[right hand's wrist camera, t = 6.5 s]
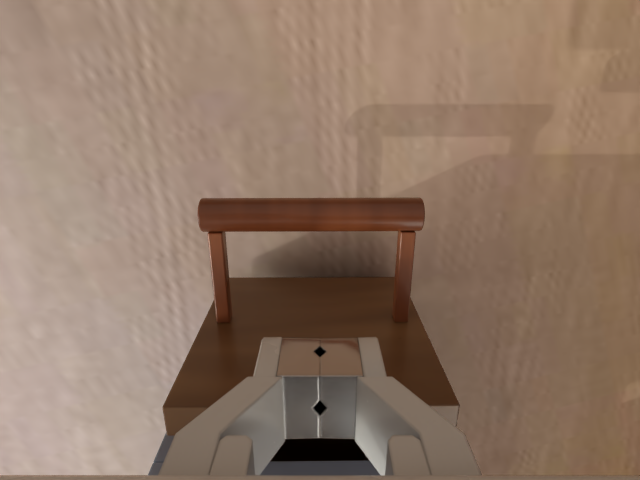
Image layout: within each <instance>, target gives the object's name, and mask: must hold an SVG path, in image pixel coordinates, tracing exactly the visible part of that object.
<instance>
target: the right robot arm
mask: <svg viewBox="0 0 640 480" xmlns="http://www.w3.org/2000/svg"><path fill="white" fill-rule="evenodd" d="M306 438H333V439H355V442H356V443H357V444H358V446H359V447H360V448H361V450H362V451H363V452H364V454H365V455H366V456H367V458H368V459H369V460H370V462H371V463H372V464H373V466H374V467H375V468H376V470H377V471H378V473H379V474H380V475H260V474H261V473H262V471H263V470H264V469H265V467H266V466H267V465H268V463H269V462H270V461H271V459H272V458H273V457H274V455H275V454H276V453H277V451H278V450H279V449H280V447H281V446H282V445H283V443H284V442H285V439H306ZM0 480H640V475H482V474H481V472H480V469H479V467H478V464H477V462H476V460H475V457H474V455H473V453H472V450H471V448H470V445H469V443H468V441H467V438H466V436H465V434H464V433H463V432H461V431H460V430H459V429H458V428H456V427H455V426H454V425H453V424H451V423H450V422H449V421H448V420H446V419H445V418H444V417H443V416H441V415H440V414H439V413H438V412H436V411H435V410H434V409H432V408H431V407H430V406H429V405H427V404H426V403H425V402H424V401H422V400H421V399H420V398H419V397H417V396H416V395H415V394H414V393H412V392H411V391H410V390H409V389H407V388H406V387H405V386H404V385H402V384H401V383H400V382H399V381H397V380H396V379H395V378H393V377H387V375H386V371H385V367H384V363H383V358H382V354H381V350H380V346H379V342H378V338H377V337H358V338H301V337H283V338H282V337H264V338H263V339H262V341H261V345H260V350H259V354H258V358H257V362H256V367H255V371H254V375H253V377H247V378H245V379H244V380H243V381H241V382H240V383H239V384H238V385H236V386H235V387H234V388H233V389H231V390H230V391H229V392H228V393H226V394H225V395H224V396H223V397H221V398H220V399H219V400H217V401H216V402H215V403H214V404H212V405H211V406H210V407H209V408H207V409H206V410H205V411H204V412H202V413H201V414H200V415H199V416H197V417H196V418H195V419H193V420H192V421H191V422H190V423H188V424H187V425H186V426H185V427H183V428H182V429H181V430H180V431H178V432H177V433H176V434H175V436H174V439H173V441H172V443H171V446H170V448H169V450H168V453H167V455H166V457H165V460H164V462H163V465H162V467H161V469H160V472H159V474H158V475H0Z"/></svg>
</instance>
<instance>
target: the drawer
mask: <svg viewBox="0 0 640 480" xmlns="http://www.w3.org/2000/svg"><path fill="white" fill-rule="evenodd" d="M424 219H425V209H424V203H423V200H422V199H421V198H203V199H201V200H200V202H199V206H198V223H199V227H200V229H201V231H203V232H208V243H209V253H210V263H211V272H212V282H213V292H214V301H213V303H212V305H211V308H210V310H209V312H208V314H207V316H206V318H205V320H204V322H203V324H202V326H201V328H200V330H199V332H198V335H197V337H196V339H195V341H194V343H193V345H192V347H191V349H190V351H189V353H188V355H187V357H186V360H185V362H184V364H183V366H182V368H181V370H180V372H179V374H178V376H177V378H176V380H175V382H174V384H173V387H172V389H171V391H170V393H169V395H168V397H167V399H166V401H165V403H164V405H163V414H164V419H165V425H166V431H167V435H168V436H175V434H176V433H177V432H178V431H180V430H181V429H182V428H183V427H185V426H186V425H187V424H188V423H190V422H191V421H192V420H193V419H195V418H196V417H197V416H199V415H200V414H201V413H202V412H204V411H205V410H206V409H207V408H209V407H210V406H211V405H212V404H214V403H215V402H216V401H217V400H219V399H220V398H221V397H223V396H224V395H225V394H226V393H228V392H229V391H230V390H231V389H233V388H234V387H235V386H236V385H238V384H239V383H240V382H241V381H243V380H244V379H245V378H247V377H253V375H254V371H255V367H256V362H257V358H258V354H259V350H260V345H261V341H262V339H263V338H264V337H282V338H283V337H301V338H358V337H377V338H378V342H379V346H380V350H381V354H382V358H383V363H384V367H385V371H386V375H387V377H393V378H395V379H396V380H397V381H399V382H400V383H401V384H402V385H404V386H405V387H406V388H407V389H409V390H410V391H411V392H412V393H414V394H415V395H416V396H417V397H419V398H420V399H421V400H422V401H424V402H425V403H426V404H427V405H429V406H430V407H431V408H432V409H434V410H435V411H436V412H438V413H439V414H440V415H441V416H443V417H444V418H445V419H446V420H448V421H449V422H450V423H451V424H453V425H454V426H455V427H456V425H457V418H458V412H459V403H458V401H457V398H456V396H455V394H454V392H453V390H452V388H451V385H450V383H449V381H448V379H447V377H446V374H445V372H444V370H443V368H442V366H441V364H440V361H439V359H438V357H437V355H436V353H435V350H434V348H433V346H432V344H431V342H430V340H429V337H428V335H427V333H426V331H425V329H424V326H423V324H422V322H421V320H420V318H419V316H418V313H417V311H416V309H415V307H414V305H413V302H412V300H411V298H410V292H411V280H412V269H413V258H414V246H415V235H416V233H415V231H420V230H422V228H423V225H424ZM249 231H398V240H397V254H396V268H395V277H305V278H229V270H228V259H227V247H226V236H225V232H249ZM367 460H369V459H368V458H367V456H366V455H365V454H364V452H363V451H362V450H361V448H360V447H359V446H358V444H357V443H356V442H355V439H333V438H306V439H285V442H284V443H283V445H282V446H281V447H280V449H279V450H278V451H277V453H276V454H275V455H274V457H273V458H272V459H271V461H367Z"/></svg>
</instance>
